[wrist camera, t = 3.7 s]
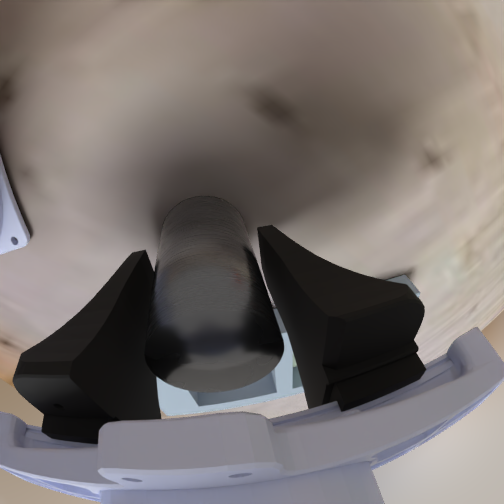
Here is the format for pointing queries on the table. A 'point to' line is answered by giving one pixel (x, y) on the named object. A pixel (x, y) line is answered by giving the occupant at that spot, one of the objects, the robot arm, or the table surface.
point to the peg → (209, 303)
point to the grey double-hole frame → (266, 389)
